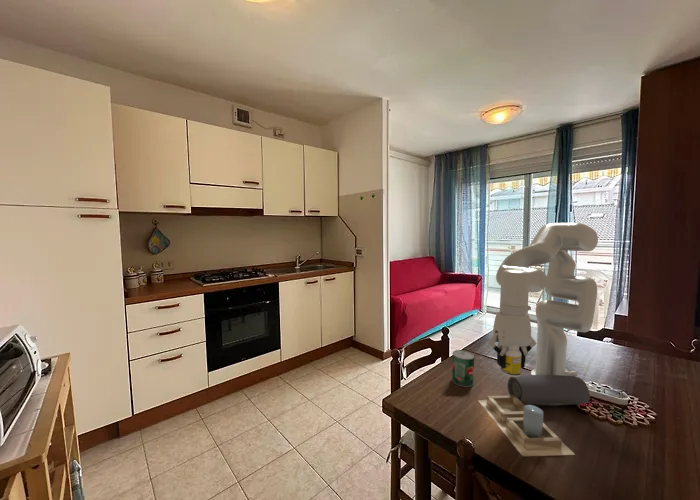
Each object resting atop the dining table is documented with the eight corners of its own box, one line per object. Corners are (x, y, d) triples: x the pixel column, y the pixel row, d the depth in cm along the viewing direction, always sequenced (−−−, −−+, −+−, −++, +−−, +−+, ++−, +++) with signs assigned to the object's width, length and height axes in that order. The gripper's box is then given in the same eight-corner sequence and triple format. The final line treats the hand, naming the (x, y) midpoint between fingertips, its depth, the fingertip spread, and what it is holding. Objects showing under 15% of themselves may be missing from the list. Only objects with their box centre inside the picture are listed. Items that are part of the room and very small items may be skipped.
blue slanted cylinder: (534, 430, 82) (535, 404, 82) (545, 442, 78) (547, 415, 77) (518, 431, 82) (520, 404, 82) (529, 443, 78) (531, 415, 77)
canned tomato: (475, 388, 107) (476, 359, 106) (453, 385, 108) (454, 357, 107) (471, 377, 114) (471, 350, 114) (450, 375, 116) (451, 349, 115)
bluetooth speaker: (566, 397, 102) (568, 369, 101) (590, 413, 92) (592, 383, 92) (505, 397, 100) (507, 369, 100) (522, 413, 91) (524, 383, 91)
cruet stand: (477, 403, 97) (477, 393, 97) (517, 402, 98) (517, 392, 98) (522, 460, 73) (523, 447, 73) (575, 458, 74) (575, 445, 74)
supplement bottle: (497, 369, 92) (498, 339, 92) (513, 368, 93) (514, 339, 92) (507, 378, 87) (509, 346, 86) (524, 377, 87) (526, 346, 87)
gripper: (532, 306, 93) (529, 360, 94) (480, 306, 92) (478, 360, 93) (549, 313, 85) (545, 371, 86) (492, 313, 84) (490, 372, 86)
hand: (510, 365), depth 90 cm, fingers closed on supplement bottle, 5 cm apart
